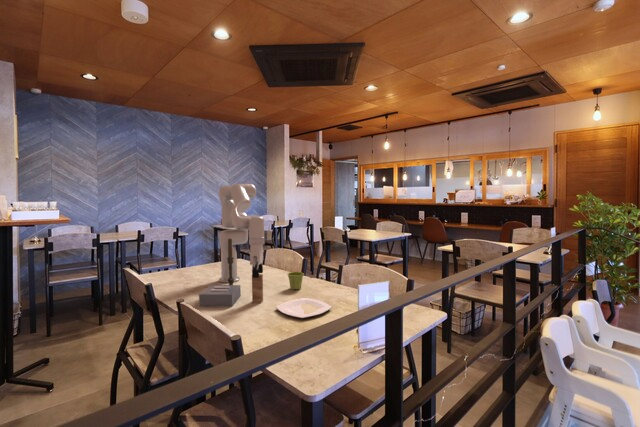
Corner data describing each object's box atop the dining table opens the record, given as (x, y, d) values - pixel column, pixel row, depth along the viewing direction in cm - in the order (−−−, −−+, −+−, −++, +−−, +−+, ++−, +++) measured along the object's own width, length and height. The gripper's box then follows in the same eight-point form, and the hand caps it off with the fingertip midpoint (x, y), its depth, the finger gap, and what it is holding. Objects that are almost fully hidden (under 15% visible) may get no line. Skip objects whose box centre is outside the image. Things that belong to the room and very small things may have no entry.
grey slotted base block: (210, 296, 180) (210, 283, 180) (240, 296, 180) (240, 283, 179) (199, 306, 164) (199, 293, 164) (232, 306, 164) (231, 293, 163)
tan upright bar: (253, 301, 172) (252, 274, 171) (263, 301, 172) (262, 274, 171) (252, 302, 169) (251, 275, 168) (262, 302, 169) (261, 275, 168)
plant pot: (284, 289, 191) (284, 274, 190) (293, 285, 199) (293, 271, 199) (298, 292, 187) (298, 276, 186) (306, 287, 195) (306, 272, 194)
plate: (269, 310, 159) (269, 306, 159) (305, 299, 175) (305, 295, 175) (301, 324, 143) (301, 320, 143) (338, 310, 159) (338, 306, 159)
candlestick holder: (224, 293, 184) (223, 239, 181) (221, 289, 192) (219, 237, 190) (241, 291, 188) (240, 238, 186) (237, 287, 196) (236, 235, 194)
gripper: (253, 239, 177) (254, 271, 178) (245, 243, 160) (246, 279, 160) (267, 238, 177) (268, 271, 178) (261, 243, 159) (261, 279, 160)
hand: (257, 275), depth 169 cm, fingers open, 9 cm apart
